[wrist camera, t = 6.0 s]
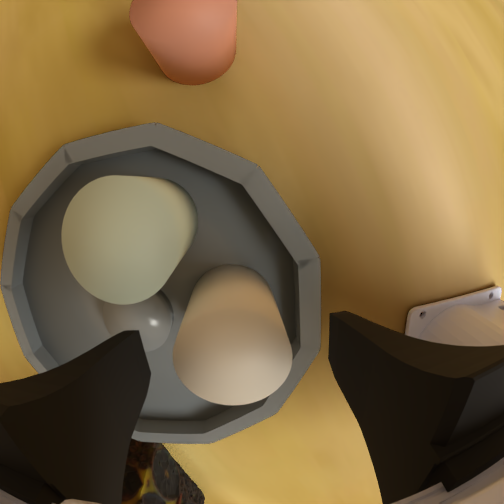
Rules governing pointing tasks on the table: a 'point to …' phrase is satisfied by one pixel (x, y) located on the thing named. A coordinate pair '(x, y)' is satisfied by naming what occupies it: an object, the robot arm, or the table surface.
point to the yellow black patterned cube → (156, 477)
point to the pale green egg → (127, 235)
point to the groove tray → (178, 284)
